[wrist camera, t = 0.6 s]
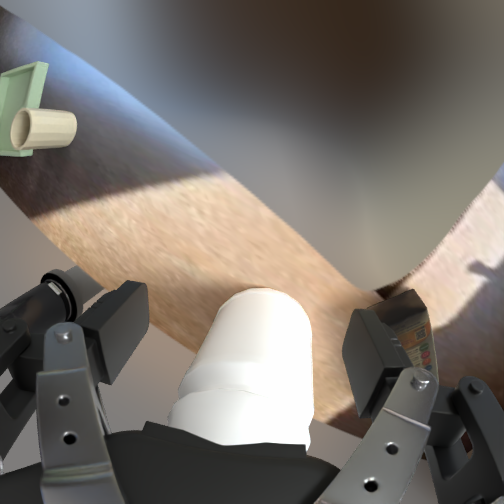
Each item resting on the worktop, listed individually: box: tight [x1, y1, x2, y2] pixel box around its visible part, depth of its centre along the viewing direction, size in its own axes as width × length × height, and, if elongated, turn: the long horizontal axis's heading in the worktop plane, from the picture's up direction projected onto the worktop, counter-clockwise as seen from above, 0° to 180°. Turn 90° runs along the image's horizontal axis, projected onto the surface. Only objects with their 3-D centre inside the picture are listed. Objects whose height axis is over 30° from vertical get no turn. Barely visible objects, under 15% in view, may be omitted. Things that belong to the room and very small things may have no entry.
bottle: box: [168, 288, 314, 452], centre depth 28 cm, size 14×14×28 cm
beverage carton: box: [367, 289, 439, 383], centre depth 36 cm, size 8×19×7 cm, turn 27°
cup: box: [10, 108, 77, 150], centre depth 32 cm, size 6×6×10 cm
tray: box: [0, 61, 49, 157], centre depth 35 cm, size 18×15×3 cm
